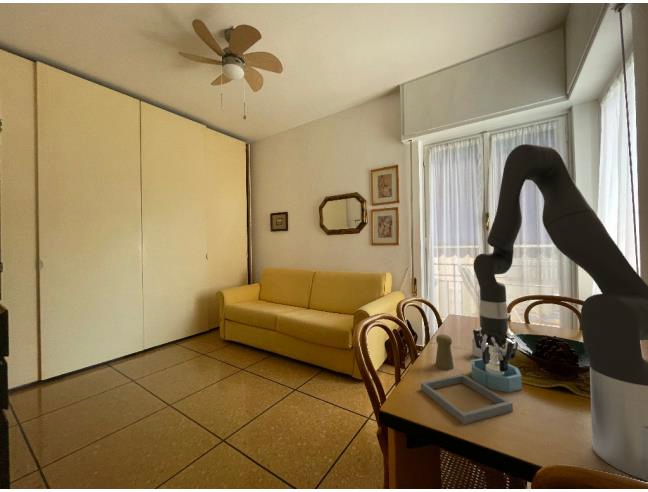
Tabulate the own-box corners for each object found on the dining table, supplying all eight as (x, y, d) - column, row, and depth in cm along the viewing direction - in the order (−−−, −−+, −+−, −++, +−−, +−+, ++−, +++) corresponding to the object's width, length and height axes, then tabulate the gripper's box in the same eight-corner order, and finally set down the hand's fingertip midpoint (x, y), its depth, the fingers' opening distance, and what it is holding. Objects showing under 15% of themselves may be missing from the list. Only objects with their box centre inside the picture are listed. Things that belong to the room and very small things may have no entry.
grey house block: (491, 354, 100) (490, 329, 100) (482, 358, 96) (481, 332, 96) (481, 351, 103) (480, 326, 103) (472, 355, 99) (471, 329, 99)
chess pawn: (484, 372, 80) (483, 344, 80) (486, 366, 84) (486, 340, 84) (503, 377, 77) (502, 348, 77) (505, 371, 81) (504, 343, 81)
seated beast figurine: (490, 335, 120) (489, 310, 121) (491, 330, 127) (490, 307, 128) (514, 339, 115) (513, 313, 115) (514, 334, 122) (513, 309, 122)
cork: (456, 370, 87) (455, 338, 87) (437, 369, 88) (436, 338, 88) (451, 362, 93) (450, 333, 93) (433, 361, 94) (433, 332, 94)
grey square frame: (512, 410, 65) (512, 403, 65) (464, 424, 60) (463, 416, 60) (462, 380, 80) (462, 374, 80) (420, 389, 76) (420, 382, 76)
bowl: (531, 386, 76) (530, 373, 76) (499, 394, 72) (498, 380, 72) (491, 367, 88) (491, 356, 88) (462, 373, 85) (462, 361, 85)
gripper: (525, 319, 75) (526, 376, 75) (482, 308, 89) (483, 356, 88) (506, 321, 73) (508, 380, 72) (465, 310, 86) (466, 359, 86)
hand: (494, 366), depth 80 cm, fingers closed on chess pawn, 5 cm apart
